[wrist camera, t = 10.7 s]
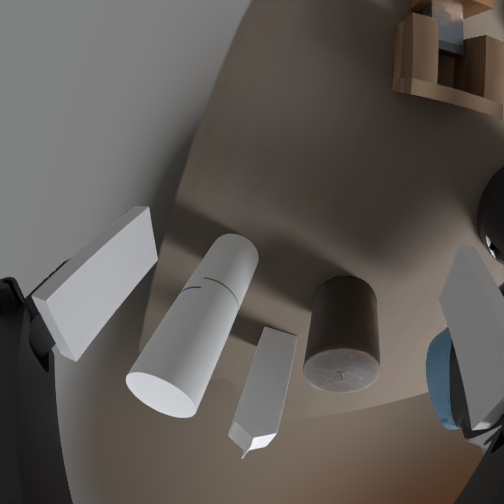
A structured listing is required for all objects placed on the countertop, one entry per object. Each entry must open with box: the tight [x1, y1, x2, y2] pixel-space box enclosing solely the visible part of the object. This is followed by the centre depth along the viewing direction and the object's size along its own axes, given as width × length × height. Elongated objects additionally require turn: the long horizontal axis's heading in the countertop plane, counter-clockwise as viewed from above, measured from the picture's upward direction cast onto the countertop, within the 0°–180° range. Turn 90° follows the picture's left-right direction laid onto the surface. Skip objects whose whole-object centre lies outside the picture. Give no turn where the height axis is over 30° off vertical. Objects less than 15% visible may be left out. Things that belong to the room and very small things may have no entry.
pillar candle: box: [303, 276, 380, 394], centre depth 40 cm, size 10×10×15 cm
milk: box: [228, 326, 297, 458], centre depth 45 cm, size 6×6×22 cm
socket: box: [392, 13, 504, 119], centre depth 23 cm, size 10×8×9 cm
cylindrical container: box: [126, 234, 259, 418], centre depth 36 cm, size 7×7×25 cm
